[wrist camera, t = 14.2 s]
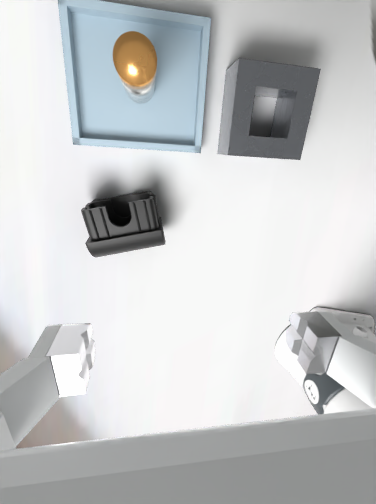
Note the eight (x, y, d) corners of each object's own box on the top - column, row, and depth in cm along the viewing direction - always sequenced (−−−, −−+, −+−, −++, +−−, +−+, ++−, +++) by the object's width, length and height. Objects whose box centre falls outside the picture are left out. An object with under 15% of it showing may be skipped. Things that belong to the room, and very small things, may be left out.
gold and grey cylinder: (154, 70, 30) (157, 34, 20) (154, 104, 31) (156, 87, 21) (124, 67, 29) (111, 27, 19) (125, 102, 31) (113, 82, 21)
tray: (206, 27, 30) (211, 17, 28) (197, 152, 35) (200, 152, 33) (64, 6, 27) (57, -7, 25) (78, 144, 33) (73, 144, 31)
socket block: (297, 79, 34) (320, 68, 29) (281, 157, 37) (300, 159, 33) (226, 70, 32) (239, 58, 27) (217, 153, 36) (227, 155, 31)
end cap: (101, 245, 39) (92, 265, 33) (87, 201, 36) (74, 213, 30) (164, 234, 40) (167, 251, 33) (155, 189, 37) (157, 199, 31)
